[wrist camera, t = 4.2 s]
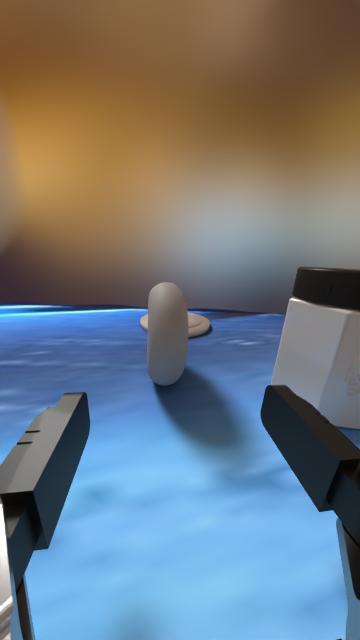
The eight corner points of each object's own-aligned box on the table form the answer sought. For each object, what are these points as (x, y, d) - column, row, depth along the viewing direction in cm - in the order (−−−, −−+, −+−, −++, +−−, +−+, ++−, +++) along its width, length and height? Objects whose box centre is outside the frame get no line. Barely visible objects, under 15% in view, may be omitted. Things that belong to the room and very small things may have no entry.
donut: (188, 409, 17) (197, 292, 14) (147, 412, 16) (147, 290, 13) (173, 354, 26) (177, 277, 23) (147, 354, 25) (147, 276, 22)
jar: (285, 423, 16) (327, 268, 12) (259, 369, 23) (279, 265, 20) (409, 439, 15) (494, 278, 11) (339, 377, 22) (376, 270, 19)
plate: (200, 315, 44) (201, 310, 44) (218, 337, 32) (219, 330, 32) (142, 314, 43) (142, 309, 42) (137, 337, 30) (137, 330, 30)
